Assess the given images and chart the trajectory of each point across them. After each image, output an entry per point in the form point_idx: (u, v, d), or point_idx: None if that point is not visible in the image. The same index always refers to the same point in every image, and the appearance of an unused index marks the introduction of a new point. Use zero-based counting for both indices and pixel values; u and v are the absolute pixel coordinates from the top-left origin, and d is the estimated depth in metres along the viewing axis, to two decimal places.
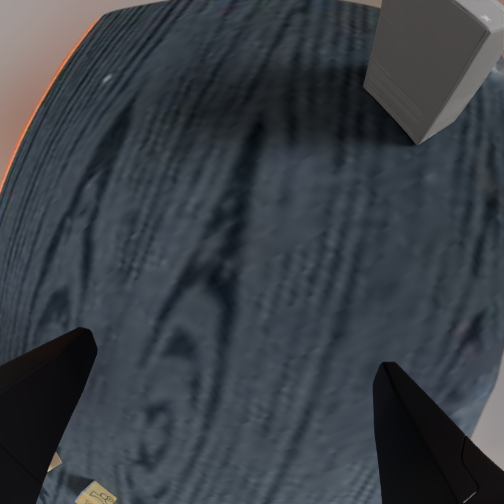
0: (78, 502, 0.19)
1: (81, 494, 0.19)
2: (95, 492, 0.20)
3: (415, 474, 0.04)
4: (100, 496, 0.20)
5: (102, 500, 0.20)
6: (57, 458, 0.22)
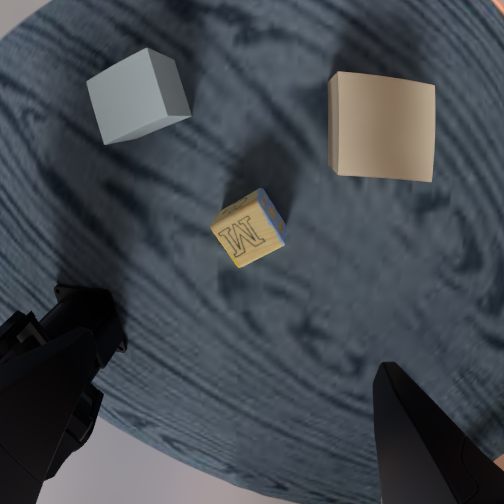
0: (256, 212, 0.16)
1: (277, 237, 0.16)
2: None
3: (415, 474, 0.04)
4: None
5: None
6: None
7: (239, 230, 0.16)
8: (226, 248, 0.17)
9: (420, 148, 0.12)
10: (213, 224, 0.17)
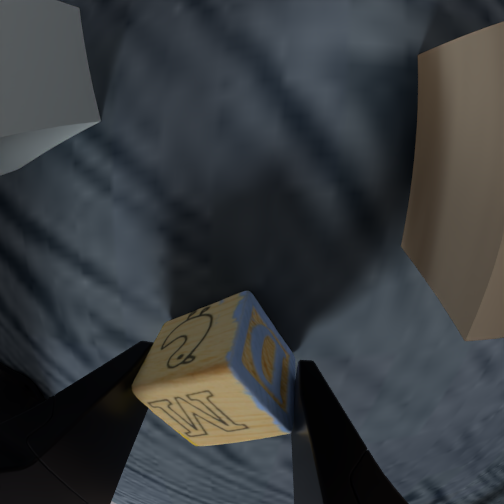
0: (227, 388, 0.06)
1: (277, 424, 0.06)
2: None
3: (307, 482, 0.05)
4: None
5: None
6: None
7: (191, 408, 0.06)
8: (169, 424, 0.07)
9: None
10: (136, 385, 0.07)
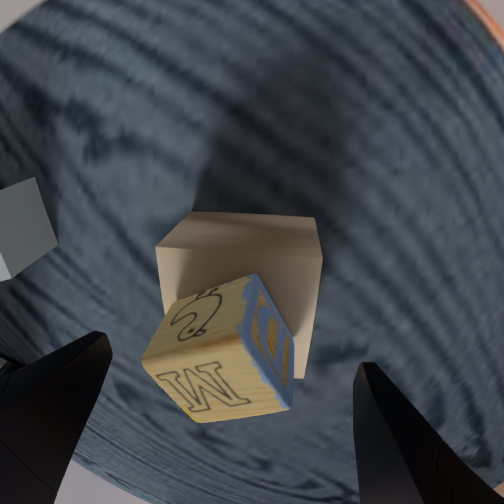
0: (235, 359, 0.07)
1: (278, 399, 0.07)
2: None
3: (389, 478, 0.04)
4: None
5: None
6: None
7: (198, 380, 0.07)
8: (173, 398, 0.08)
9: None
10: (146, 357, 0.07)
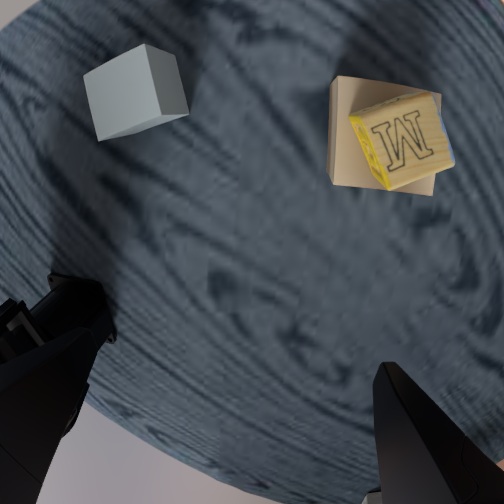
0: (428, 108, 0.08)
1: (449, 151, 0.09)
2: None
3: (415, 474, 0.04)
4: None
5: None
6: None
7: (402, 130, 0.09)
8: (378, 154, 0.10)
9: None
10: (364, 114, 0.09)
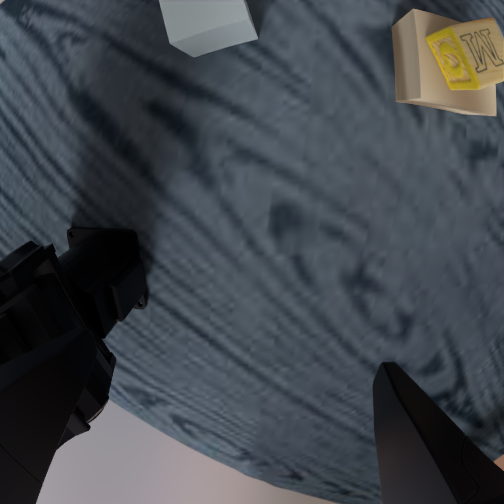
0: (494, 29, 0.07)
1: None
2: None
3: (415, 474, 0.04)
4: None
5: None
6: (409, 102, 0.15)
7: (481, 41, 0.07)
8: (468, 57, 0.08)
9: None
10: (452, 25, 0.07)
